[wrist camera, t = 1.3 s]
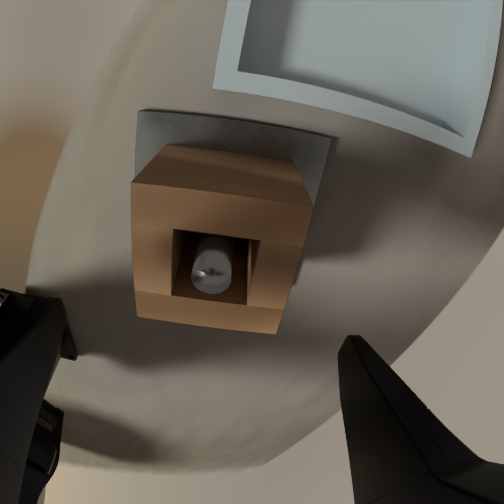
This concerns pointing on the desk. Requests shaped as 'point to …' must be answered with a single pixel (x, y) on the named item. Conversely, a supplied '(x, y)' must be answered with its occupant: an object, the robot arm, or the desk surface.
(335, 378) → the desk surface
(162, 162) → the wooden block with hole
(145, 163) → the grey peg stand
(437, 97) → the tray
